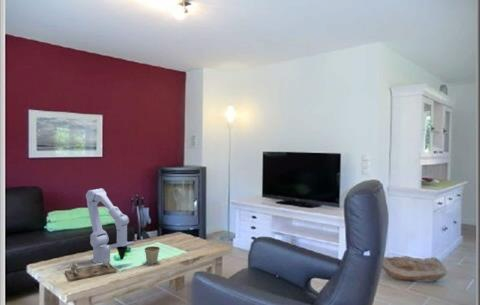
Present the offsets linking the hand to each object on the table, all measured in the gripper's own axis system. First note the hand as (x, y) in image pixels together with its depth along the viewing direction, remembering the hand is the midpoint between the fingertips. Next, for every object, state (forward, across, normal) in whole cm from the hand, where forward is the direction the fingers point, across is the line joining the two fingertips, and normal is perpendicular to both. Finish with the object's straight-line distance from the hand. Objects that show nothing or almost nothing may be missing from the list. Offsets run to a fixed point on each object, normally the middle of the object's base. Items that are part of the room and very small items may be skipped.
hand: (121, 258), depth 209 cm
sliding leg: (+2, -9, -2) cm, 9 cm away
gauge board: (+4, -18, -3) cm, 19 cm away
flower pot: (+4, +17, -5) cm, 18 cm away
